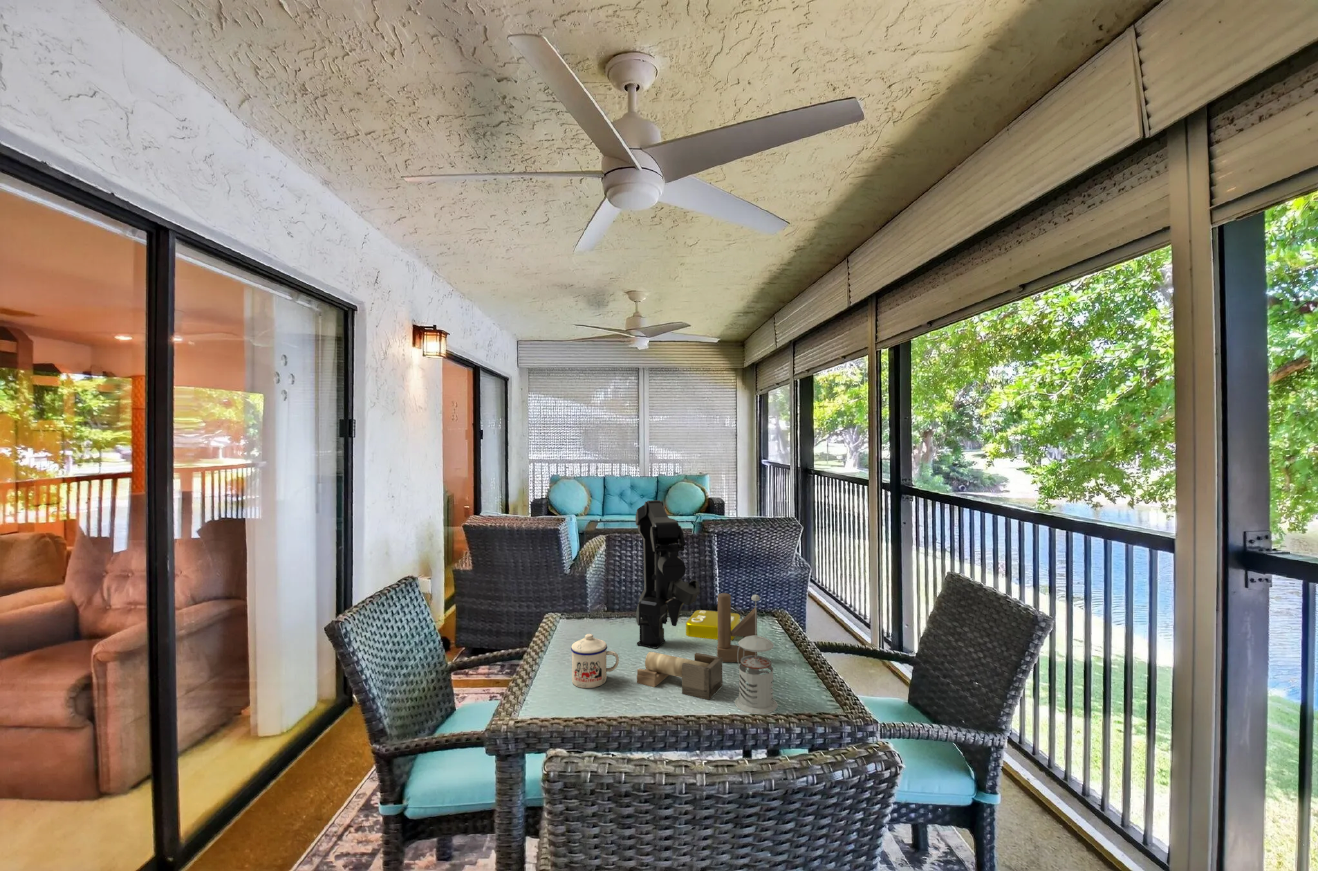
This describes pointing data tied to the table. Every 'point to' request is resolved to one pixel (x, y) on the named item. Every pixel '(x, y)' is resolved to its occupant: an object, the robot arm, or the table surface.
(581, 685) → the teacup with lid
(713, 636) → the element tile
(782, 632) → the table surface
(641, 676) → the block
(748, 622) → the brown post stand
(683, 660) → the rod
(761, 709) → the french press
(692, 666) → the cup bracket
